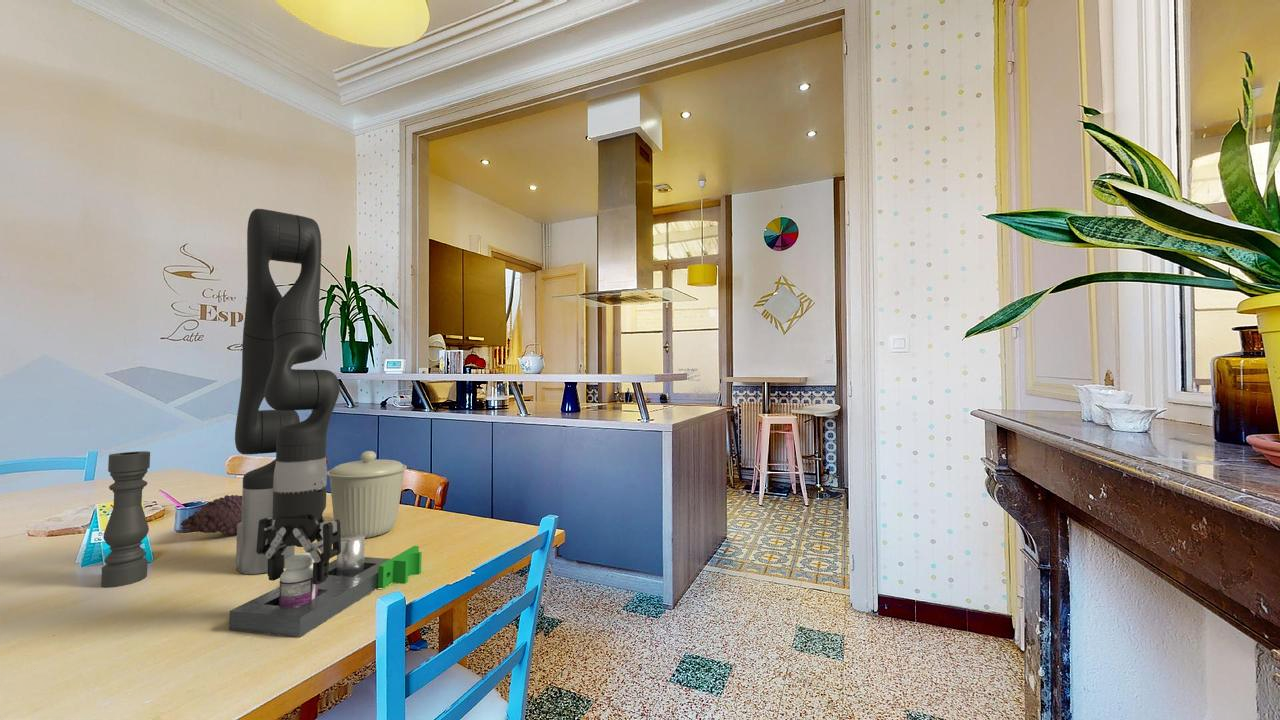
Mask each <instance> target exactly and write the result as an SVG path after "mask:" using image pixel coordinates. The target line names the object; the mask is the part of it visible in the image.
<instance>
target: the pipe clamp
mask: <svg viewBox="0 0 1280 720" xmlns="http://www.w3.org/2000/svg"><path fill="white" fill-rule="evenodd" d="M419 548H420V547H419V545H413V546H411V547H409V548H408V549H406V550H404V551H402V552H400V553H398V554H396V556H394V557H391V558H389V559H390V560H388V561H386V562H385V563H383V564H381V565H379V566H378V588H384V589H386V588H387V587H386V586H388V585H389V584H391V583H392V584H404V585H405V584H407V583H408V581H409V580H408V579H409V576H415V575H421V573H422V553H423V551H419ZM392 584H391V585H392ZM389 586H390V585H389ZM389 586H388V587H389ZM385 587H386V588H385Z"/></svg>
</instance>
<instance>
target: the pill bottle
mask: <svg viewBox="0 0 1280 720" xmlns="http://www.w3.org/2000/svg"><path fill="white" fill-rule="evenodd" d="M314 562H315V561H314V559H313V558H312V556H311V554H310V553H308V552H303V553H297V554H294V555H293V556H290V557H288V558H287V559H286V560H285V567H284V568H285V569H284V572H283V573H282V574H281V576H280V578H279V586H278V587H279V588H280V594H279V606H286V607H296V608H298V607H299V606H301V605H303V604H305V603H307V602H308V601H310V600H312V599H314V598H316V597H317V594H318V585H316V584H313V563H314Z"/></svg>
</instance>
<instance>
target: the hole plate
mask: <svg viewBox="0 0 1280 720" xmlns="http://www.w3.org/2000/svg"><path fill="white" fill-rule="evenodd" d="M390 559H391V558H385V557H384V558H383V557H371V556H364V571H363V572H361V573H359V574H357V575H356V576H354V577H346V576H336V574H337V558H336V559H335V560H332V561H329V571H328V572H329V575H328V578H326V580H325V581H324V582H322V583H320V584H318V594H317V597H316V598H314V599H312V600H310V601H308V602H307V603H305V604H303V605H301V606H299V607H298V608H296V607H286V606H279V594H280V588H279V587H280V586H278V587H276V588H274V589H272V590H270V591H268V592H266V593H264V594H261V595H260V596H257V597H255V598H253V599H251V600H249V601H247V602H245V603H243V604H241V605H238V606H237V607H235V608H232V609H230V610H229V612H228V613H229V618H228V620H229V621H228V630H229V631H237V632H247V633H258V634H266V635H275V636H284V637H293V638H294V637H295V638H301V637H303V636H304V635H305V634H307V633H309V632H311V631H312V630H314V629H316V628H317V627H318V626H320V625H322V624H323V623H325V622H327V621H328V620H330V619H332V618H333V617H335V616H336V615H338V614H339V613H341V612H343V611H344V610H346V609H348V608H349V607H350V606H352V605H353V604H355V603H357V602H358V601H360V600H362V599H364V598H365V597H366V596H368V595H369V594H371V593H373V592H374V590H375V589H376V590H378V589H377V588H378V566H379V565H381V564H383V563H385V562H386V561H388V560H390ZM376 590H375V591H376ZM372 591H373V592H372Z"/></svg>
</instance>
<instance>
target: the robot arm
mask: <svg viewBox="0 0 1280 720" xmlns="http://www.w3.org/2000/svg"><path fill="white" fill-rule="evenodd" d="M247 220H248V221H247V231H246V233H247V234H246V250H247V251H246V256H247V258H246V262H247V263H246V265H247V266H246V267H247V270H246V271H247V275H246V277H247V279H246V280H247V290H246V303H245V310H244V311H245V313H244V321H243V331H242V332H243V333H242V344H241V345H242V346H241V347H242V349H241V350H242V351H241V353H242V354H241V356H242V357H241V383H240V384H241V386H240V393H239V400H238V409H237V415H236V422H235V431H234V444H235V448H236V450H237V452H238V453H239V454H241V455H247V456H249V455H260V454H261V455H263V454H275V459H273V460H272V461H271V462H269V463H267V464H265V465H262V466H260V467H258V468H255V469H252V470H250V471H248V472H246V473H245V474H244V475H243V477H242V491H241V492H242V495H241V496H242V522H240V523H239V524H238V525H237V533H236V551H235V552H236V553H235V554H236V556H235V557H236V558H235V570H238V571H239V572H240V573H241V574H245V575H246V574H247V575H258V574H263V573H267V577H268V580H269V581H273V582H274V581H277V580H278V579H279V580H280V576H281V574H282V573H283V572H284V571H285V569H284V568H285V560H286V559H287V558H288V557H290V556H293V555H295V552H296V551H295V550H296V548H295V547H297V548H303V549H304V551H305V553H310V554H311V556H312V558H313V559H314V562H313V564H312V565H313V584H316V585H318V584H320V583H322V582H324V581H325V580H326V578H328V575H329V572H328V571H329V563H330V559H332V558H334V557H335V556H336V557H337V555H338V554H340V553H341V530H340V521H339V520H338V519H336V520H334V519H333V520H331V521H327V520H325V519H324V516H323V514H324V511H325V509H326V507H327V490H328V489H327V487H328V486H327V485H328V484H327V483H328V482H327V481H328V475H327V472H328V467H327V461H326V460H327V457H326V455H327V453H326V452H327V434H328V430H329V429H328V428H329V425H330V421H331V418H332V415H333V412H334V409H335V407H336V403H337V401H338V398H339V396H340V389H341V388H340V387H341V385H340V381H339V378H338V376H337V375H336V374H335V373H334V372H333V371H331V370H328V369H301V368H300V369H295V368H294V369H293V368H292V367H293V366H295V365H298V364H303V363H304V364H305V363H309V362H313V361H316V360H318V359H319V358H320V357H321V356H322V354H323V351H324V347H323V338H322V337H323V336H322V328H321V322H320V321H321V319H320V294H321V293H320V292H321V279H322V278H321V274H322V235H321V230H320V227H319V224H318V223H317V221H316V220H314V219H313V218H311V217H307V216H303V215H298V214H293V213H287V212H283V211H282V212H281V211H276V210H270V209H264V208H255V209H253V210H252V211H251V212H250V215H249V217H248V219H247ZM270 261H275V262H282V263H288V264H289V263H291V264H297V265H298V264H299V265H300V266H301V267H300V273H299V275H298V277H297V279H296V280H295V282H294V283H293V284H292V286H291V287H290V288H289V289H288V291H287V292H286V293H285V294H284V295H283V296H282V294H281V292H280V291H279V288H278V287H277V285H276V284H275V282H274V279H273V277H272V274H271V271H270ZM263 400H264V401H265V402H266V403H267V405H268V406H269V407H270V408H271V409H262V410H260V408H261V407H260V406H261V404H262V403H263ZM305 410H306V411H308V410H309V411H310V410H311V413H310V415H309V416H308V417H307V418H306V419H305V420H300V416H299V413H298V412H297V411H305ZM315 541H316V542H315Z"/></svg>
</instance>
